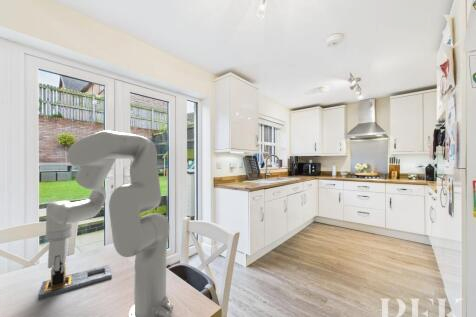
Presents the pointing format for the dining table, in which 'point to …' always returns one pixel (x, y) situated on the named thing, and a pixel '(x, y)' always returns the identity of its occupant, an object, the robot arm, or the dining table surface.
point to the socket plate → (76, 281)
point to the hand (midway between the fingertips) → (58, 280)
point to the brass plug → (64, 277)
